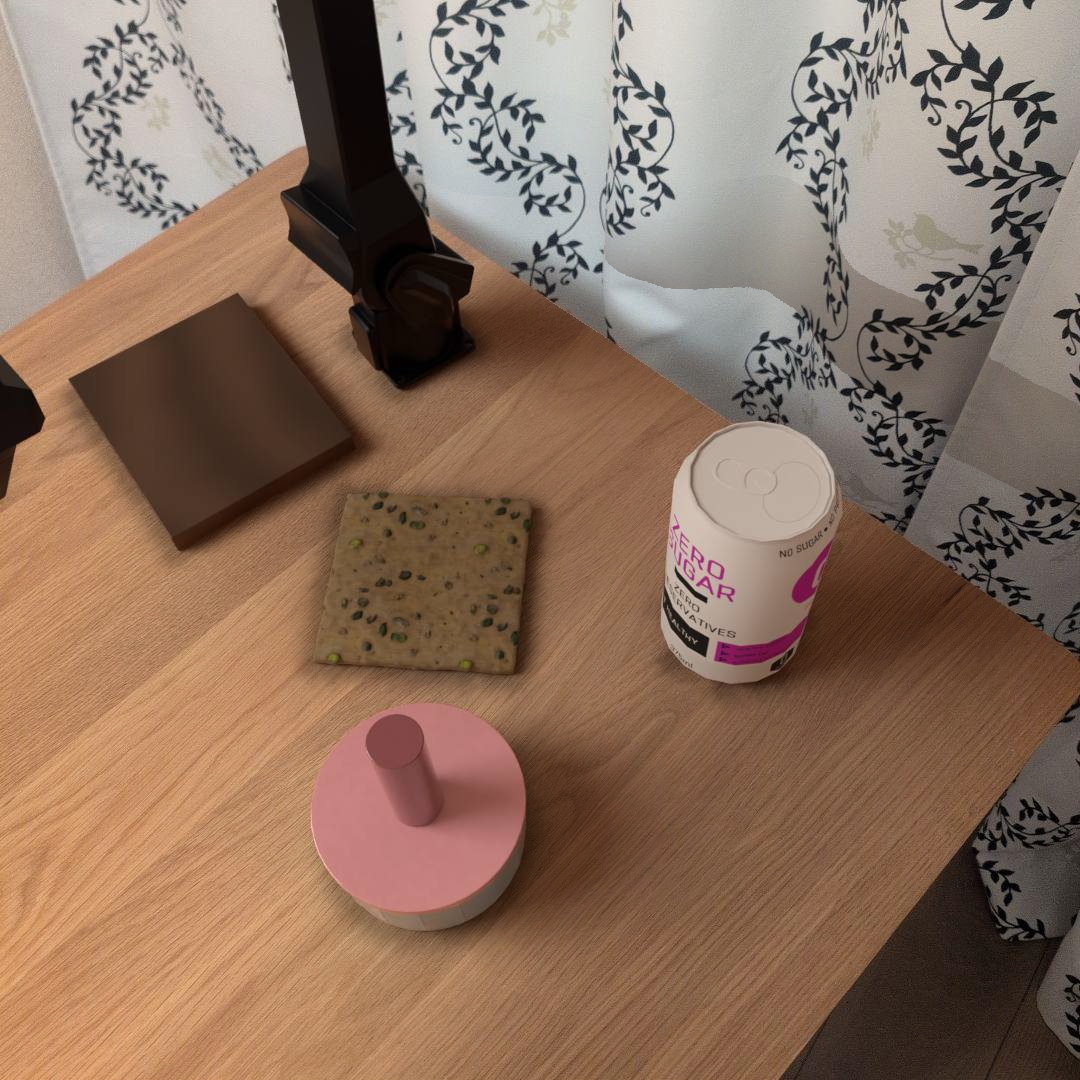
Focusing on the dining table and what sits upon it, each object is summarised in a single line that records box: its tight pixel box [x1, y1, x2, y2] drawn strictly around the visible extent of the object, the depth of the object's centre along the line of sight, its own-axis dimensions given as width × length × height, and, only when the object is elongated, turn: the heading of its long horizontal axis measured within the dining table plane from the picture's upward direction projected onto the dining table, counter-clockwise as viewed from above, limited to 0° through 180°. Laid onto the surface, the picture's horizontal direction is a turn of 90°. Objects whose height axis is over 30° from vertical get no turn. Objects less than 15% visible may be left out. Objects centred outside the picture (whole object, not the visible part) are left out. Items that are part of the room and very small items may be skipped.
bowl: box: [350, 819, 527, 932], centre depth 60 cm, size 10×10×4 cm
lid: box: [309, 702, 527, 915], centre depth 55 cm, size 11×11×9 cm
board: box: [67, 292, 357, 551], centre depth 77 cm, size 13×16×2 cm
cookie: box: [312, 491, 533, 675], centre depth 69 cm, size 12×12×1 cm
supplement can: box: [660, 420, 844, 685], centre depth 61 cm, size 8×8×15 cm
